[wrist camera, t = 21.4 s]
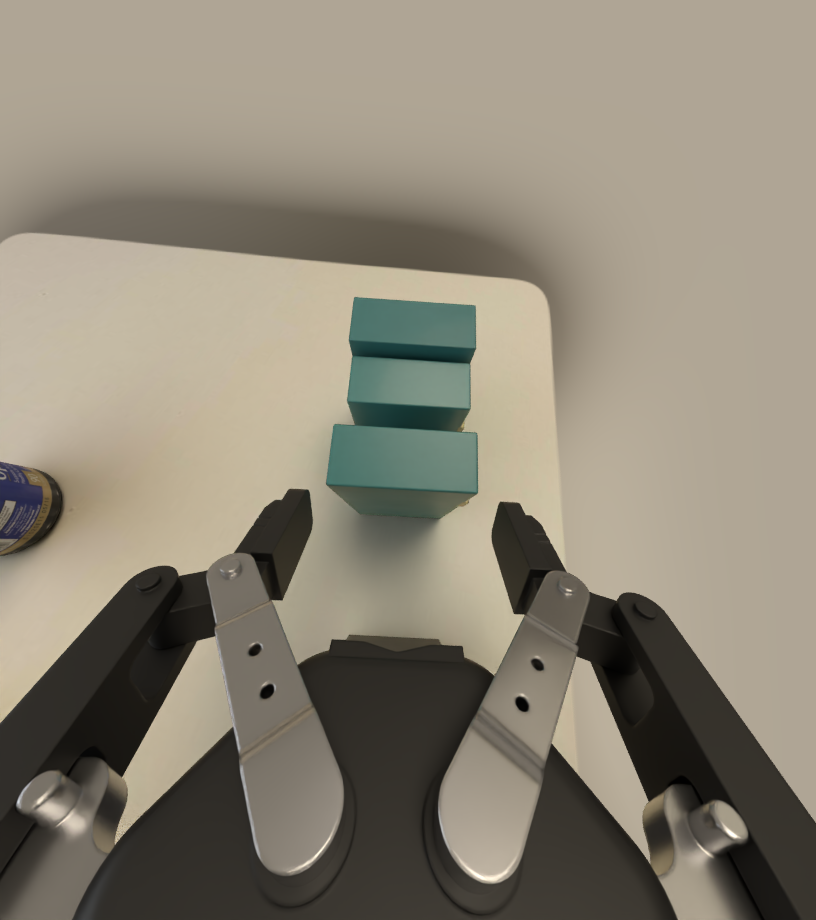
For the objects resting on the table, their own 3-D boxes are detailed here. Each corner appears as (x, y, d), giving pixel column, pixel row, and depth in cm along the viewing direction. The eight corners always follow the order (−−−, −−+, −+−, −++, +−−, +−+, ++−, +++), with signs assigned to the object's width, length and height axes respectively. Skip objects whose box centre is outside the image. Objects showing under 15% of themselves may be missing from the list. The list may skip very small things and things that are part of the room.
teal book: (443, 483, 23) (481, 431, 13) (442, 519, 23) (482, 494, 12) (362, 479, 23) (333, 422, 13) (359, 514, 23) (325, 485, 12)
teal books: (446, 401, 25) (479, 304, 15) (444, 464, 24) (480, 403, 14) (371, 396, 25) (353, 296, 15) (365, 459, 24) (341, 394, 14)
